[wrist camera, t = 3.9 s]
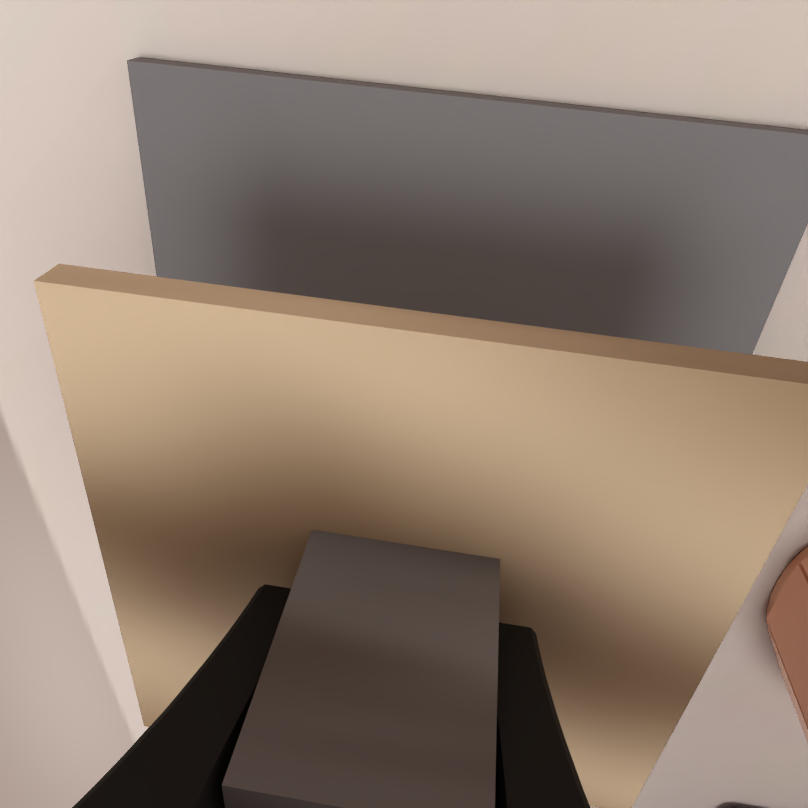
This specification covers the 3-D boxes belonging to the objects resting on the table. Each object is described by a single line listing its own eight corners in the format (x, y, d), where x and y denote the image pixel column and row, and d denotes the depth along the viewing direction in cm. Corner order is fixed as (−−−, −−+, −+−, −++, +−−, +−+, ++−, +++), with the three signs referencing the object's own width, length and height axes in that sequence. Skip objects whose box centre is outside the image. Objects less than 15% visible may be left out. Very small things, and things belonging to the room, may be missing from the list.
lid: (624, 783, 14) (664, 1076, 11) (156, 700, 15) (36, 948, 11) (839, 365, 9) (1096, 685, 5) (58, 263, 9) (-254, 471, 6)
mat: (636, 606, 21) (638, 619, 20) (200, 537, 22) (194, 548, 21) (833, 132, 13) (843, 138, 13) (138, 57, 14) (126, 60, 14)
